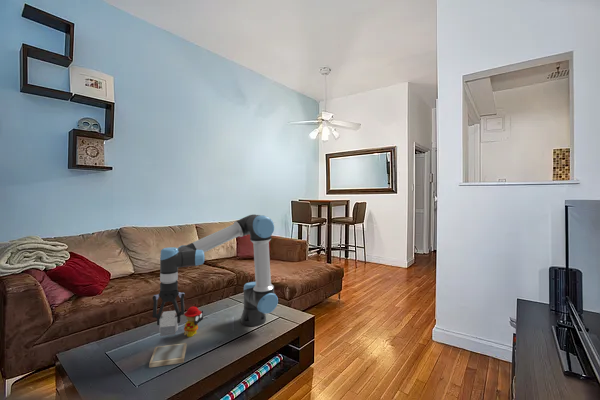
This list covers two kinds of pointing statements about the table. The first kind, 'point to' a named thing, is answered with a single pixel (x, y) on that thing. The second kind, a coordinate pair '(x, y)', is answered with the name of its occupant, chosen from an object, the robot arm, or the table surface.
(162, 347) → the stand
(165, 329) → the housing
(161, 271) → the robot arm
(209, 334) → the table surface
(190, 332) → the toy
